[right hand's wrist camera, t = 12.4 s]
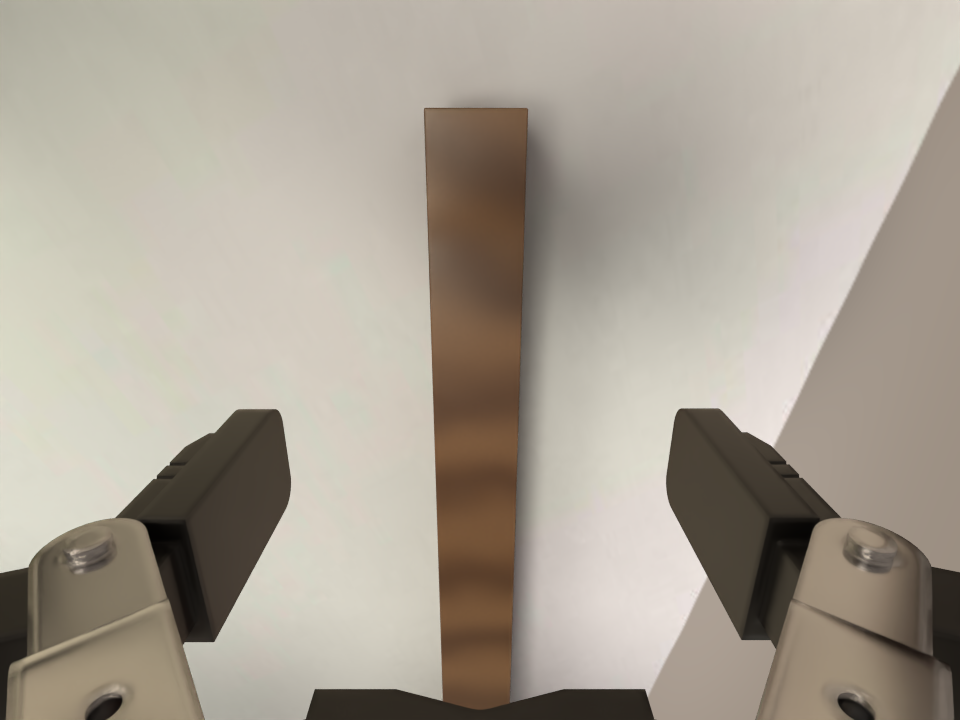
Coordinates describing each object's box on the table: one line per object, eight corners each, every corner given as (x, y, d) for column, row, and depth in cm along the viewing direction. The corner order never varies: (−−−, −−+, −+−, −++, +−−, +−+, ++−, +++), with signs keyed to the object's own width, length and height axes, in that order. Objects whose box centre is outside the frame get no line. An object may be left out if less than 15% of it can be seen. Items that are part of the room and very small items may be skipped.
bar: (435, 116, 30) (423, 107, 24) (517, 116, 30) (527, 107, 24) (451, 747, 49) (447, 836, 42) (502, 747, 49) (505, 836, 42)
